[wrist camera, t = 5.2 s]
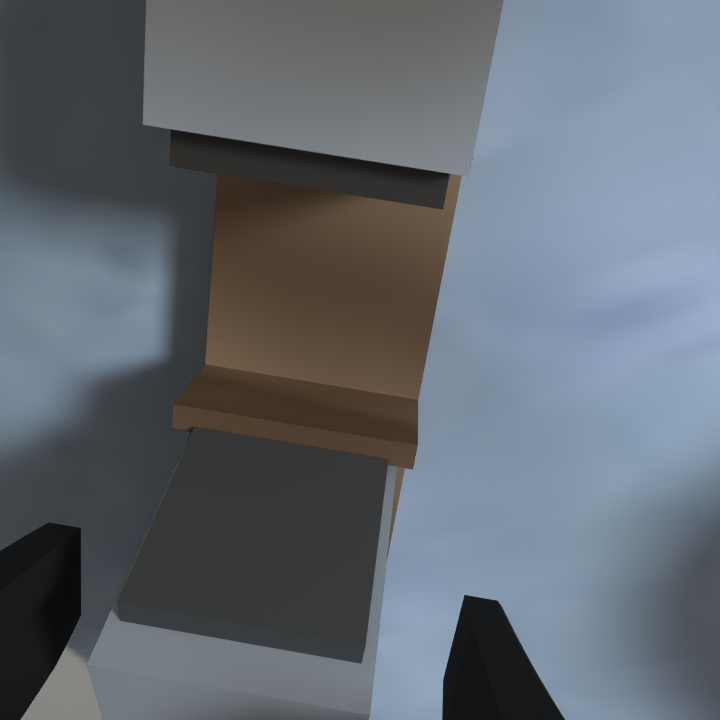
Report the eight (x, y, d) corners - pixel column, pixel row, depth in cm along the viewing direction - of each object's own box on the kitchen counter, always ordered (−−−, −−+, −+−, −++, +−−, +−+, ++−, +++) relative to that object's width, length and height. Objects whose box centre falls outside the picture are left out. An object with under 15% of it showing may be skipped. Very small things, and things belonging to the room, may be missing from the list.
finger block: (372, 570, 16) (342, 815, 12) (203, 540, 16) (118, 774, 12) (402, 434, 13) (374, 698, 9) (195, 399, 13) (81, 646, 9)
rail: (374, 606, 18) (354, 824, 12) (203, 577, 18) (111, 779, 13) (514, -122, 12) (588, -296, 7) (258, -160, 12) (131, -361, 7)
